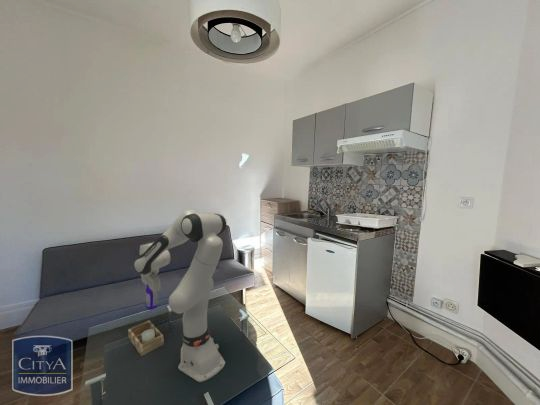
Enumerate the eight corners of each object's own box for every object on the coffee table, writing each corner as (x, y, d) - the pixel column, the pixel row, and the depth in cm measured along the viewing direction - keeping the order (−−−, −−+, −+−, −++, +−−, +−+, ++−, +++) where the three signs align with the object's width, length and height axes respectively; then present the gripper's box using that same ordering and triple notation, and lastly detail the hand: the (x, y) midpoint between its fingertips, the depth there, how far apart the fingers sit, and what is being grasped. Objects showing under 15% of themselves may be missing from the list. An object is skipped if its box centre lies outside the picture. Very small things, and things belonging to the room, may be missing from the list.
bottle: (159, 308, 130) (160, 277, 129) (148, 311, 126) (149, 280, 125) (154, 303, 135) (154, 274, 134) (143, 307, 131) (144, 276, 130)
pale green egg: (157, 344, 121) (156, 332, 121) (145, 351, 117) (143, 338, 116) (153, 339, 125) (151, 327, 125) (141, 345, 121) (139, 332, 120)
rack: (164, 345, 122) (163, 335, 121) (141, 357, 114) (140, 346, 113) (150, 329, 135) (149, 320, 135) (129, 339, 127) (127, 329, 127)
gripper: (163, 273, 124) (164, 298, 125) (149, 264, 138) (151, 286, 139) (150, 277, 119) (152, 303, 120) (138, 267, 133) (140, 290, 135)
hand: (151, 294), depth 130 cm, fingers closed on bottle, 7 cm apart
